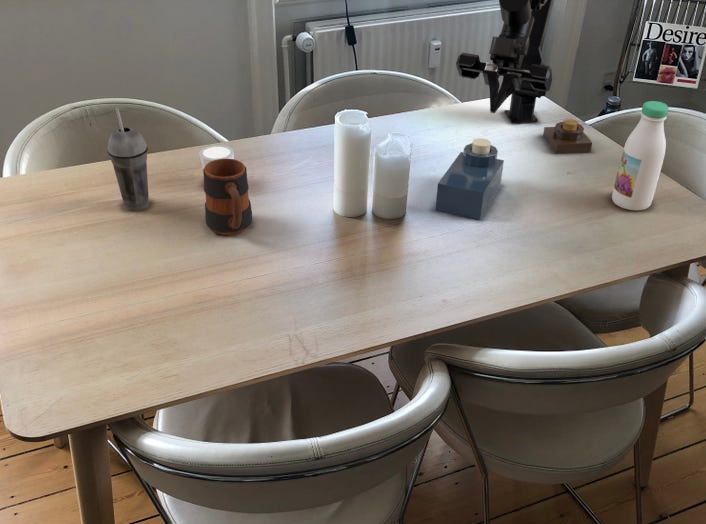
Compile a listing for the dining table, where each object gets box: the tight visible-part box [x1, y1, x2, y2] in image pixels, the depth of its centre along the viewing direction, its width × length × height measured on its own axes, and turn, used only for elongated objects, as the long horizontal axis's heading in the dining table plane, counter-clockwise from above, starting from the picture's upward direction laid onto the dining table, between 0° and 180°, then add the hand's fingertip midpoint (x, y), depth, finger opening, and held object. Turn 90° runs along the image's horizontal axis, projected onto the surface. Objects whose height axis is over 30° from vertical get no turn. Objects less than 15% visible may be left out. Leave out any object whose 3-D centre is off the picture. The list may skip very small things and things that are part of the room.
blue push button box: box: [434, 142, 505, 221], centre depth 163 cm, size 16×9×8 cm, turn 157°
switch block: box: [542, 121, 593, 155], centre depth 184 cm, size 9×8×4 cm
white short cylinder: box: [471, 137, 492, 155], centre depth 164 cm, size 4×4×2 cm
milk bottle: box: [611, 100, 670, 211], centre depth 159 cm, size 8×8×20 cm
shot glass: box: [198, 144, 235, 170], centre depth 166 cm, size 7×7×7 cm
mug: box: [202, 158, 253, 236], centre depth 151 cm, size 9×12×12 cm
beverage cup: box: [107, 107, 150, 212], centre depth 154 cm, size 7×7×20 cm
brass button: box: [562, 118, 579, 131], centre depth 183 cm, size 3×3×2 cm
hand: (492, 112), depth 165 cm, fingers closed
